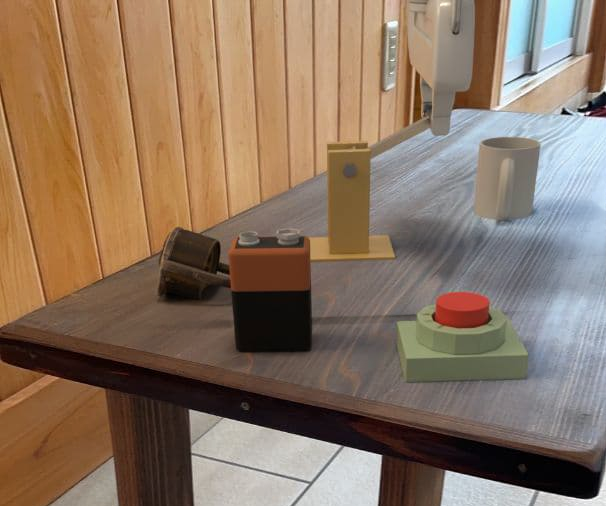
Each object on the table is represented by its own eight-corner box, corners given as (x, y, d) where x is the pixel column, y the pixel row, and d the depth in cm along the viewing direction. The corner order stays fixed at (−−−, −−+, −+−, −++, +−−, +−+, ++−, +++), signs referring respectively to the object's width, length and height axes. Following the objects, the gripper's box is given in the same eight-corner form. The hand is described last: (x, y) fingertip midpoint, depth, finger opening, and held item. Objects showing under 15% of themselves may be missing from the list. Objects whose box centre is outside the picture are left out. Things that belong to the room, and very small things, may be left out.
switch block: (505, 340, 77) (511, 297, 75) (525, 379, 71) (531, 333, 68) (395, 344, 77) (397, 301, 75) (405, 382, 71) (407, 337, 68)
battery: (310, 352, 76) (308, 239, 70) (235, 353, 76) (226, 240, 71) (312, 333, 80) (309, 224, 74) (240, 334, 80) (232, 225, 74)
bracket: (388, 245, 101) (391, 137, 94) (394, 267, 94) (399, 152, 87) (303, 248, 101) (300, 140, 94) (304, 270, 94) (301, 156, 87)
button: (482, 310, 74) (484, 290, 72) (492, 330, 70) (494, 309, 69) (431, 312, 74) (432, 292, 73) (438, 332, 70) (440, 311, 69)
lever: (441, 121, 92) (433, 98, 91) (449, 132, 87) (441, 108, 86) (339, 174, 95) (330, 153, 94) (342, 187, 90) (332, 166, 89)
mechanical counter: (192, 224, 91) (129, 227, 83) (294, 227, 85) (237, 230, 77) (195, 294, 94) (134, 303, 86) (295, 301, 87) (239, 312, 80)
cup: (530, 211, 110) (540, 137, 105) (531, 234, 102) (541, 155, 97) (474, 210, 112) (480, 136, 106) (470, 233, 104) (477, 154, 98)
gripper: (497, -27, 73) (482, 147, 81) (459, -37, 89) (450, 109, 98) (424, -25, 73) (416, 149, 81) (399, -35, 90) (395, 110, 98)
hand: (434, 127), depth 89 cm, fingers closed on lever, 6 cm apart
